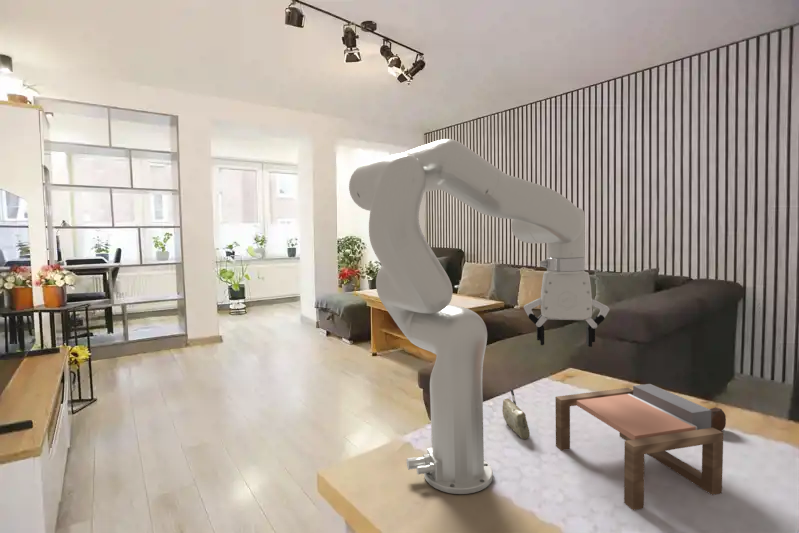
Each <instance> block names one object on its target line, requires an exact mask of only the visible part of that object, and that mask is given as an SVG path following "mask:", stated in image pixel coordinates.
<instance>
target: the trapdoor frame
mask: <svg viewBox="0 0 799 533" xmlns="http://www.w3.org/2000/svg"><path fill="white" fill-rule="evenodd" d="M623 394H631V395H633V389H632V388H629V387H622V388H616V389H615V388H614V389H607V390H599V391H591V392H582V393H574V394H566V395H559V396H558V395H557V396H555V447H556V448H558V449H559V450H560V451H567V450H571V407H575V406H577V405H576V400H584V399H592V398H600V397H608V396H615V395H623ZM621 437H622V438H621ZM619 438H621V439H623V440H624V455H623V456H624V457H623V458H624V459H623V460H624V464H623V466H624V470H623V471H624V472H623V473H624V474H623V475H624V476H623V478H624V479H623V482H624V485H623V490H624V491H623V494H624V495H623V503H624V504H625V505H626V506H627V507H628V508H629V509H631V510H632V511H637V510H642V509H644V508H645V455H648V456H650V457H652V458H653V459H655V461H658V462H659V463H661V464H662V465H664V466H665V467H667V468H668V469H670V470H671V471H673V472H675V473H677V474H678V475H679V476H681V477H683V478H684V479H686V480H688V482H691V483H692V482H693V483H692V484H694V485H695V486H696V487H698V488H700V489H702V490H704V491H705V492H706V491H707V493H708V492H709V493H710V494H709V493H708V494H709V495H711V494H712V495H711V496H714V495H713V494H715V495H719V494H720V493H721V494H723V470H724V469H723V463H724V459H723V458H724V431H722V432H721V431H719V430H717V429H715V428H713V427H712V428H706V429H699V430H693V431H686V432H680V433H673V434H667V435H660V436H654V437H647V438H640V439H634V440H631V439H630V438H628V437H627V436H625V435H623V434H622V433H620V432H619ZM697 446H701V447H702V448H701V449H702V450H701V451H702V452H701V453H702V454H701V471H700V470H698V469H697V468H695V467H694V466H691V465H690V464H688V463H686V462H685V461H683V460H682V459H680V458H679V457H677V456H675V455H673V454H671V453H670V452H668V451H672V450H679V449H684V448H690V447H697Z"/></svg>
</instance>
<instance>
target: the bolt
mask: <svg viewBox="0 0 799 533" xmlns="http://www.w3.org/2000/svg"><path fill="white" fill-rule="evenodd" d="M709 409H710V410H711V428H712V427H713V428H715V429H717V430H719V431H721V432H724V430H725V428H726V425H727V419H726V418H727V416H726V414H725V412H724V411H723V410H722V408H719V407H716V406H715V407H712V408H709Z"/></svg>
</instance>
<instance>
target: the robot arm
mask: <svg viewBox="0 0 799 533" xmlns="http://www.w3.org/2000/svg"><path fill="white" fill-rule="evenodd" d="M348 191H349V195H350V198H351V199H352V200H353V202H354V203H355V204H356V205H357V206H358V207H359V208H360V209H363V210H365V211H369V220H368V237H369V241H370V246H371V247H372V251H373V253H374V254H375V256H376V258H377V259H378V261H379V262H380V264H381V266H380V268H379V269H378V272H377V275H376V279H375V287H376V292H377V295H378V298H379V299H380V302H381V303H382V305H383V307H384V308H385V310H386V311H387V312H388V314H389V315H390V317H391V319H393V321H394V323H395V324H396V326H397V327H398V328H399V329H400V331H401V332H402V334H403V335H404V337H406V339H407V340H409V342H410V343H411V344H413V345H414V346H416V347H417V348H420V349H423V350H425V351H428V352H430V353H432V354H433V355H436V358H435V362H434V365H433V367H432V371H431V373H430V379H429V398H430V399H429V400H430V402H429V403H430V427H431V428H430V434H431V435H430V436H431V439H430V440H431V447H427V449H426V451H427V453H425V454H422V456H418V457H416V456H415V457H407V458H406V460H405V461H406V467H407V470H415V469H416V474H417V475H423V476H424V478H425V480H426V482H427V483H428V484H429V485H430V486H431V487H433V488H435V489H436V490H439V491H441V492H444V493H447V494H453V495H468V494H474V493H478V492H480V491H482V490H484V489H486V488H487V487H489V486H490V485H491V483H492V481H493V477H494V475H493V474H494V472H493V468H492V466H491V464H490V463H489V462H487V461H486V460H485V455H484V454H485V453H484V452H485V448H484V447H485V446H484V443H485V442H484V406H483V405H484V404H483V402H484V398H483V394H484V393H483V371H484V370H483V368H484V360H485V354H486V350H487V349H486V348H487V343H488V342H487V341H488V330H487V325H486V323H485V322H484V320H483V318H482V317H481V316H480V315H479V314H478V313H477V312H475V311H474V310H471V309H470V308H468V307H463V306H459V305H454V304H450V303H451V302H452V300H453V286H452V285H453V284H452V282H451V280H450V277H449V276H448V273H447V272H446V271H445V268H444V267H443V266H442V263H440V260H439V259H438V257H437V256H436V254H435V252H434V251H433V249H432V247H431V246H430V245H429V243H428V241H427V239H426V237H425V235H424V232H422V228H421V225H420V219H419V218H420V209H421V204H422V200H423V196H424V194H425V193H427V192H434V191H443V192H445V193H446V194H448V195H450V196H451V197H453V198H455V199H457V200H458V201H460V202H462V203H463V204H465V205H467V206H468V207H469V208H470V209H471V208H472V209H473V210H475V211H476V212H477V213H479V214H482V215H484V216H489V217H492V218H498V219H506V220H507V219H508V220H511V224H510V225H511V226H510V227H511V232H512V234H513V235H514V237H515V238H516V239H517V240H519V241H521V242H523V243H527V244H546V258H545V259H544V260H540V261H539V266H540V267H541V268H545V269H546V271H544V272H543V275H542V281H541V288H540V289H541V290H540V296H539V298H537V299H534V300H532V301H530V302H528V303H526V304H524V305H523V309H524V311H525V313H526V315H527V316H528V319H529V320H530V321H531V322H533V324H534V325H535V326H536V341H539V343H540V346H544V345H545V326H544V324H545V323H546V322H547V321H548V320H552V321H553V320H554V321H556V320H558V321H586V322H587V326H585V327H586V328H585V330H586V331H585V333H586V334H585V335H586V336H585V344H586V345H587V347H588V348H593V343H596V329H597V328H598V326H599V325H600V324H601V323H602V322H604V320H605V318H606V317H607V315H608V314H609V312H610V310H611V309H610V307H609V306H607V305H606V304H604V303H601V302H599V301H597V300H595V299H594V298H592V297H593V296H592V285H591V284H592V283H591V278H590V273H589V272H587V271H585V259H586V258H585V255H586V254H585V253H586V251H585V250H586V249H585V244H586V243H585V242H586V240H585V238H586V235H585V234H586V232H585V231H586V217H585V216H586V215H585V212H584V210H583V208H581V207H577V206H576V205H575V204H574V203H573V202H571V201H570V200H569V199H568V198H566V197H565V196H564V195H562V194H561V193H559V192H558V191H556V190H555V189H551V188H550V187H547V186H544V185H541V184H538V183H536V182H532V181H529V180H526V179H523V178H520V177H517V176H513V175H509V174H507V173H506V172H504V171H502V170H501V169H499V168H498V167H496V166H495V165H494V164H492V163H491V162H489V161H488V160H486V159H485V158H483V156H481V155H480V154H477V153H476V152H475V151H473V150H472V149H471V148H469V147H468V146H466V145H465V144H464V143H462V142H460V141H457V140H456V139H452V138H443V139H439V140H436V141H432V142H430V143H425V144H423V145H421V146H417V147H415V148H412V149H409V150H407V151H405V152H401V153H394V154H391V155H388V156H384V157H381V158H378V159H376V160H373V161H372V160H371V161H369V162H366V163H364V164H361V165H360V166H359V167H357V168H356V169H355V170H354V171H353V172H352V174H351V176H350V178H349V183H348ZM539 306H540V312H541V314H540V315H539V316H536V314H534V313H533V309H535V308H536V307H539ZM593 307H595V309H598V310H599V313H598V314H597V315H596V316H595V317H594V318H592V316H593Z"/></svg>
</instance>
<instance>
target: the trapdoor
mask: <svg viewBox="0 0 799 533" xmlns="http://www.w3.org/2000/svg"><path fill="white" fill-rule="evenodd" d="M632 388H633V389H632V390H633V395H631V394H623V395H615V396H608V397H600V398H592V399H584V400H576V406H577V407H578V408H581V410H583V411H585V412H586V413H587V414H589V415H591V416H593V417H594V418H596V419H597V420H599V421H601V422H602V423H604V424H606V425H608V426H609V427H610V428H612V429H614V430H615V431H617V432H618V433H619V434H620V433H622V434H623V435H625V436H627V437H628V438H630V439H631V440H634V439H640V438H647V437H654V436H660V435H667V434H673V433H680V432H686V431H693V430H699V429H706V428H711V410H710V409H711V408H707V407H705V406H703V405H700V404H698V403H695V402H694V401H692V400H689V399H687V398H684V397H682V396H680V395H676V394H675V393H672V392H670V391H668V390H666V389H663V388H661V387H659V386H656V385H653V384H651V383H645V384H636V385H633V386H632Z"/></svg>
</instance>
